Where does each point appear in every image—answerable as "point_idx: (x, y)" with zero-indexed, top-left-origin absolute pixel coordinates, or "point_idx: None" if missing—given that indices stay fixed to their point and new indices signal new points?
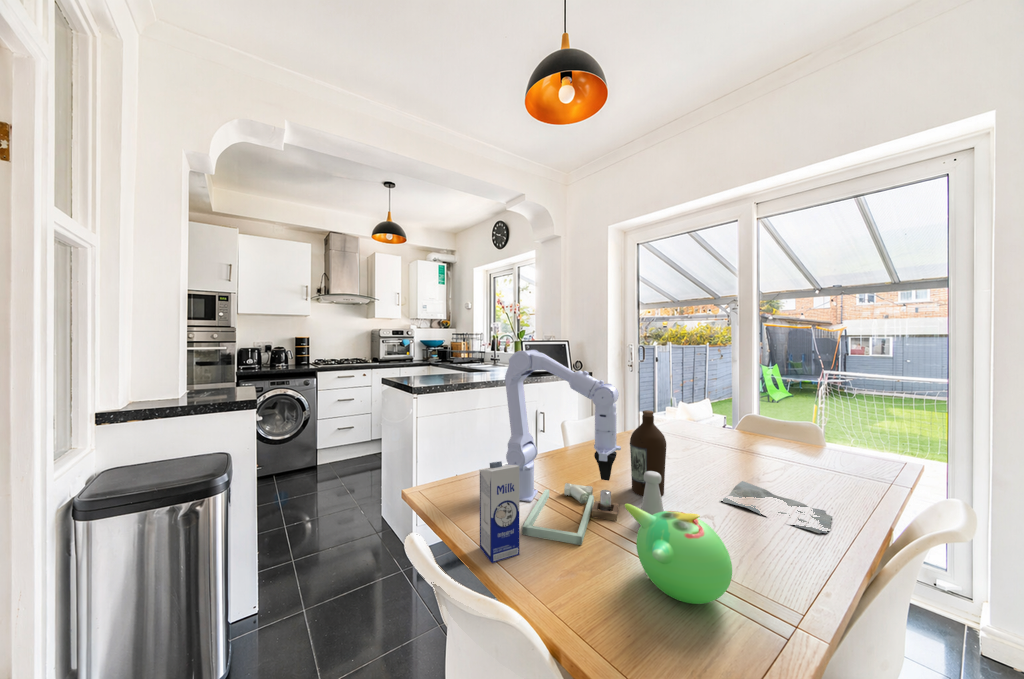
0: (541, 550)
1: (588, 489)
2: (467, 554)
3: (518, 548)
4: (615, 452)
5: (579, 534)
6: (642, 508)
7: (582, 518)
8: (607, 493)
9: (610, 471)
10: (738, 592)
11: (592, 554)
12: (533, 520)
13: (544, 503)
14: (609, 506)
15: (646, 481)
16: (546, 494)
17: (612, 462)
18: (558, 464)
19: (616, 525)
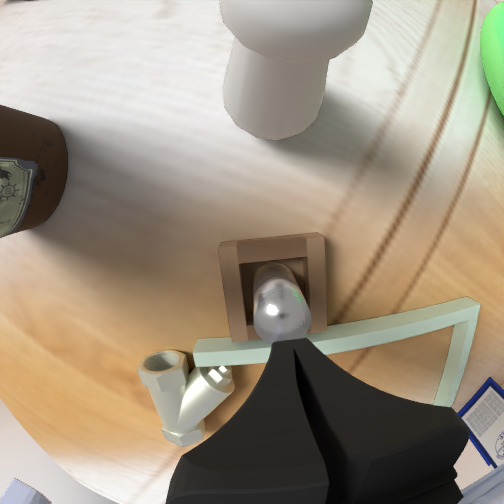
0: (482, 356)
1: (174, 380)
2: None
3: (496, 383)
4: (227, 500)
5: (473, 312)
6: (298, 126)
7: (398, 339)
8: (299, 308)
9: (340, 368)
10: (464, 5)
11: (489, 262)
12: None
13: None
14: (291, 277)
15: (348, 47)
16: None
17: (421, 408)
18: (36, 430)
19: (349, 228)
